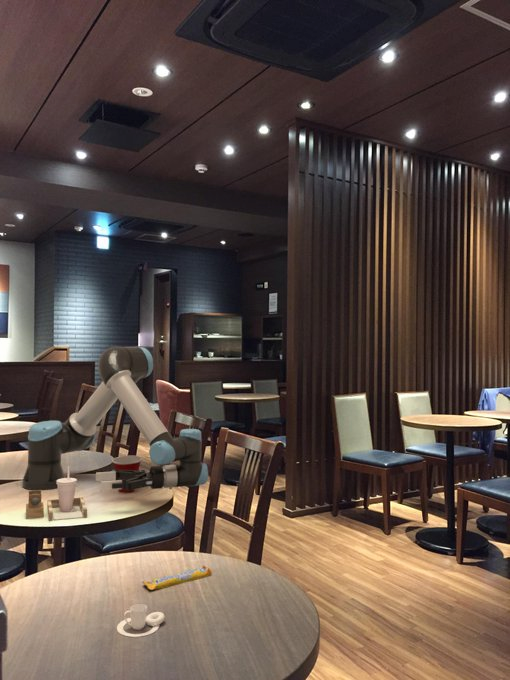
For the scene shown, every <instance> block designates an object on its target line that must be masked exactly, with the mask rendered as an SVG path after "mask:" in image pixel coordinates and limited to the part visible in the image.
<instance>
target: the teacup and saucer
mask: <svg viewBox="0 0 510 680" xmlns="http://www.w3.org/2000/svg"><path fill="white" fill-rule="evenodd" d="M147 611H148V606H147V605H146V604H143V603H136V604H134V605H131V606H130V608H129V610H126V611H125V612H124V614H123V618H124V619H123V620H121V621H120V622H119V623H118V624H117V626H116V631H117V633H119V634H120V635H122V636H124V637H128V638H129V637H130V638H140V637H146V636H149V635H151V634H153V633H156V632H157V631H158V629H159V628H160V625H161V624H162V623H163V622H164V621H165V617H166V616H165V614H164V613H163V612H161V611H155V612H154V611H153V612H151V613H149V614H148V615H147ZM127 614H129V615H130V617H128V618H126V615H127ZM126 624H127V625H128V626H130V627H131V628H132V630H133V629H134V630H139V631H140V630H142V629H143V628H145V625H148V626H150V627H152V628H151V629H150V630H148V631H146V632H142V633H129V632H127V631H125V630H124V626H125V625H126Z"/></svg>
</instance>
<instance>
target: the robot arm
mask: <svg viewBox="0 0 510 680" xmlns="http://www.w3.org/2000/svg"><path fill="white" fill-rule="evenodd" d="M97 367H98V368H97V369H98V373H99V376H100V378H101V381H102V382H101V383H100V384H99V385H98V387H97V388H96V389H95V391H94V392H93V393H92V394H91V396H90V397H89V398H88V400H86V402H85V403H84V404H83V406H82V407H81V408H80V410H79V411H78V412H74V413H72V414H71V415H70V416H69V417H68V418H67V419H66V421H65V422H61V421H60V420H43V421H39V422H36V423H33V424H32V425H31V426H29V428H28V435H27V439H28V441H27V442H28V448H27V450H28V451H27V452H28V453H27V467H26V470H25V473H24V475H23V478H22V483H21V484H22V485H21V486H22V488H24V489H25V490H30V491H34V490H41V491H42V490H43V491H45V490H52V489H58V486H57V484H56V481H57V480H58V479H62V478H66V476H65V475H66V474H65V473H64V470H63V467H62V455H63V454H69V453H73V452H80V451H84V450H86V449H88V448H90V447H91V446H92V445H93V444H94V442H95V440H96V434H97V425H98V424H99V423H100V422H101V420H102V419H103V418H104V417H105V415H106V414H107V413H108V411H109V410H110V409H111V408H112V407H113V405H114V404H115V403H116V402H117V400H119V402H120V404H121V405H122V407H123V408H124V410H125V411H126V412H127V414H128V415H129V417H130V418H131V420H132V421H133V422H134V424H135V426H136V428H137V429H138V431H140V433H141V435H142V436H143V438H144V439H145V441H146V442H147V444H148V445H149V446H150V447H149V450H148V453H149V458H150V460H151V461H152V462H153V464H155V465H153V466H151V467H150V468H149V472H146V470H145V469H141V470H140V469H139V470H117V471H115V470H114V471H103V472H96V473H95V482H100V491H101V492H103V491H115V490H118V489H123V490H126V491H129V490H133V489H135V490H137V489H142V488H148V487H150V488H151V490H158V489H159V490H160V489H163V488H164V489H167V488H168V489H169V490H172V489H173V488H179V487H180V488H181V487H196V486H202V485H205V484H206V483H207V482H208V480H209V469H208V465H207V463H204V462H202V445H203V443H202V442H203V441H202V431H201V430H200V429H196V428H184V429H181V430H180V431H179V435H178V437H174V438H173V436H172V434H171V433H170V432H169V431H168V429H167V428H166V426H165V425H164V424H163V422H162V420H161V419H160V418H159V416H158V415H157V413H156V412H155V410H154V409H153V407H152V406H151V405H150V403H149V402H148V400H147V399H146V397H145V396H144V395H143V393H142V391H141V390H140V388H139V387H138V386H137V382H138V381H139V380H140V379H145V378H147V377H149V376H150V375H151V374H152V371H153V370H154V358H153V356H152V354H151V352H150V351H149V350H148V348H145V347H143V346H141V347H140V346H135V345H134V346H120V345H119V346H111V347H109V348H107V349H105V351H103V352H102V354H100V357H99V359H98V364H97ZM178 461H179V464H171V463H175V462H178ZM118 479H123V480H118ZM118 491H119V490H118Z"/></svg>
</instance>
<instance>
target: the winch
mask: <svg viewBox="0 0 510 680" xmlns="http://www.w3.org/2000/svg"><path fill="white" fill-rule="evenodd" d="M44 508H45V507H44V502H42V490H29V491H28V503H25V519H26V520H27V519H39V518H44V510H45V509H44Z"/></svg>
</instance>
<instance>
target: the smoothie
mask: <svg viewBox="0 0 510 680" xmlns="http://www.w3.org/2000/svg"><path fill="white" fill-rule="evenodd" d="M56 484H57V486H58V488H57V495H58V499H59V505H60V507H59V512H60V513H69V512H71V511H72V512H73V508H74V506H73V501H74V498H75V493H76V485H77V484H78V479H77V478H74V477H70V466H67V477H65V478H62V479H58V480H57V481H56Z"/></svg>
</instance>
